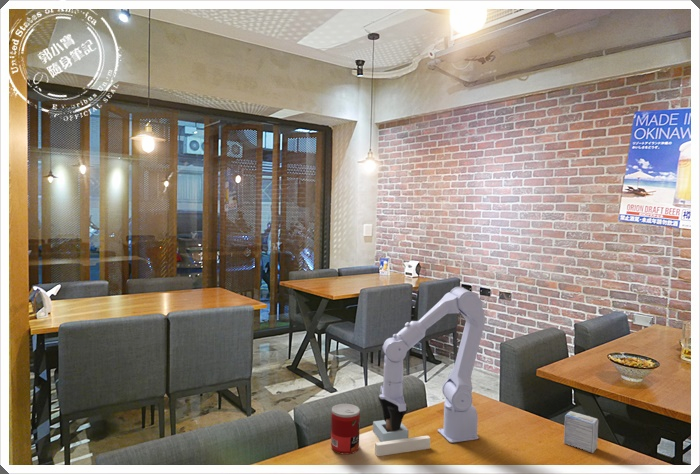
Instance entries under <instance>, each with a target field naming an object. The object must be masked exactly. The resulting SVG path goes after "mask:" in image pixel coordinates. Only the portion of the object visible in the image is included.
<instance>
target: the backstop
mask: <svg viewBox="0 0 700 474" xmlns="http://www.w3.org/2000/svg"><path fill="white" fill-rule="evenodd" d="M428 449H431V437H430V436H429V435H428V434H427V435H421V436H414V437H408V438H405V439H398V440H391V441H384V442H381V441H377V442H374V454H375V456H376V457H381V456H383V457H384V456H389V455H396V454H402V453H408V452H416V451H423V450H428Z"/></svg>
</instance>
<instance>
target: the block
mask: <svg viewBox="0 0 700 474" xmlns="http://www.w3.org/2000/svg"><path fill="white" fill-rule="evenodd" d="M409 431H410V430H409V429H408V428H407V426H405V425H404V424H403V423H402V422H401V426H400V429H399V430H397V431H392V432H387V431H386V422H385V420H384V419H382V420H373V421H372V432H373V433H374V435H375V436H376V437H377V439H378V440H379V442H384V441H391V440H398V439H405V438H409Z"/></svg>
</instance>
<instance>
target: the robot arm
mask: <svg viewBox="0 0 700 474" xmlns="http://www.w3.org/2000/svg"><path fill="white" fill-rule="evenodd" d="M447 314H450V315H451V314H461V316H462V317H463V318H464V320H465V324H464V328H463V332H462V336H461V339H460V343H459V347H458V350H457V353H456V354H457V355H456V358H455V363H454V366H453V370H452V371H451V372H450V373H449V374H448V376H447V379H446V380H445V382H444V383H443V385H442V388H441V390H442V395H443V396H444V397H445V399H444V402H443V426H442V427H443V428H438V429H437V432H438V433H440V435H442V437H443V438H444V439H446V440H447V441H448V442H449V443H451V444H453V443H461V442H467V441H472V440H473V441H474V440H479V436H478V420H479V419H478V418H479V417H478V412H477V408H476V407H475V405H473V396H472V391H473V383H472V379H471V378H472V373H473V371H474V367H475V363H476V362H475V361H476V358H477V355H478V351H479V347H480V343H481V339H482V336H483V331H484V328H485V323H486V316H485V312H484V308H483V301H482V299H481V298H480V297H479V296H478V294H477V293H475V292H474V291H472V290H471V291H470V290H468V289H466V287H463V286H455V287H454V288H452V289H451V290H450V292H447V293H445V294H444V295H443V297H442V298H441V299H440V300H439V301H438V302H437V303H436V304H435V305H434V306H432V308H430V309H429V310H428V311H427V312H426V313H425V314H424V315H423V316H422V317H421V318H420V319H419V320H411V321H410V322H408V321H407V322H406V323H405V324H404V327H403V328H402V329H400V330H399V331H398V332H397V333H394V334H392V337H388V338H387V339H386V340H385V341H384V342H383V345H382V347H381V348H382V351H383V353H384V358H383V361H384V362H383V379H382V380H383V382H382V383H383V385H380V388H379V389H380V394H379V395H378V397H377V399H378V401H379V403H380V406H381V410H382V414H383V420H385V422H386V419H388V418H391V427H392V430H393V431H394V430H399V429H400V426H401V423H402V422H403V419H404V416H405V415H406V413H407V412H408V406H407V403H406V402H405V397H404V394H403V392H404V389H403V388H404V359H405V358H406V357H407V352H408V351H409V350H410V349H412V348H413V347H414V346H415V345H416V344H417V343H418V342H420V341H421V340H422V339H423V338H425V336H426V331H427V330H428V329H430V328H431V327H432V326H433V325H434V324H436V323H437V322H438V321H440V320H441V319H442V318H443V317H446V315H447Z"/></svg>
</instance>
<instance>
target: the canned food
mask: <svg viewBox="0 0 700 474" xmlns="http://www.w3.org/2000/svg"><path fill="white" fill-rule="evenodd" d="M330 416H331V417H330V418H331V421H330V422H331V424H330V425H331V429H330V430H331V431H330V446H331V450H333V452H335V451H336V452H335V453H337V452H338V453H337V454H340V453H343V454H342V455H351V454H354V453H356V452H358V450H359V446H360V427H361V426H360V425H361V423H360V421H361V410H360V407H359V406H357V405H355V404H352V403H338V404H336V405H333V406H332V407H331V415H330ZM353 452H354V453H353ZM350 453H351V454H350Z"/></svg>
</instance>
